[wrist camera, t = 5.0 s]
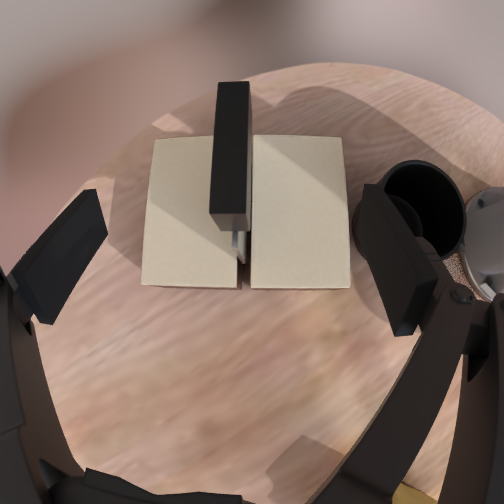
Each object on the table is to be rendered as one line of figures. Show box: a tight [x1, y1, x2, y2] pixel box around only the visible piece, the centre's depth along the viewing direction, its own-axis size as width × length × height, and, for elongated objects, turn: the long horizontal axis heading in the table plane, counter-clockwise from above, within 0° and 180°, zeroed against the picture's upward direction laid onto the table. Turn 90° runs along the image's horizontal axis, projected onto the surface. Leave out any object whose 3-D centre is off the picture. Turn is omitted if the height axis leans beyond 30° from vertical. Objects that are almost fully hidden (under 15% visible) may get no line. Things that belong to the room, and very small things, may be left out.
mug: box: [352, 160, 467, 261], centre depth 28 cm, size 9×12×9 cm
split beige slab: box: [141, 135, 350, 290], centre depth 30 cm, size 18×14×7 cm
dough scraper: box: [209, 81, 252, 264], centre depth 21 cm, size 2×10×12 cm, turn 179°
